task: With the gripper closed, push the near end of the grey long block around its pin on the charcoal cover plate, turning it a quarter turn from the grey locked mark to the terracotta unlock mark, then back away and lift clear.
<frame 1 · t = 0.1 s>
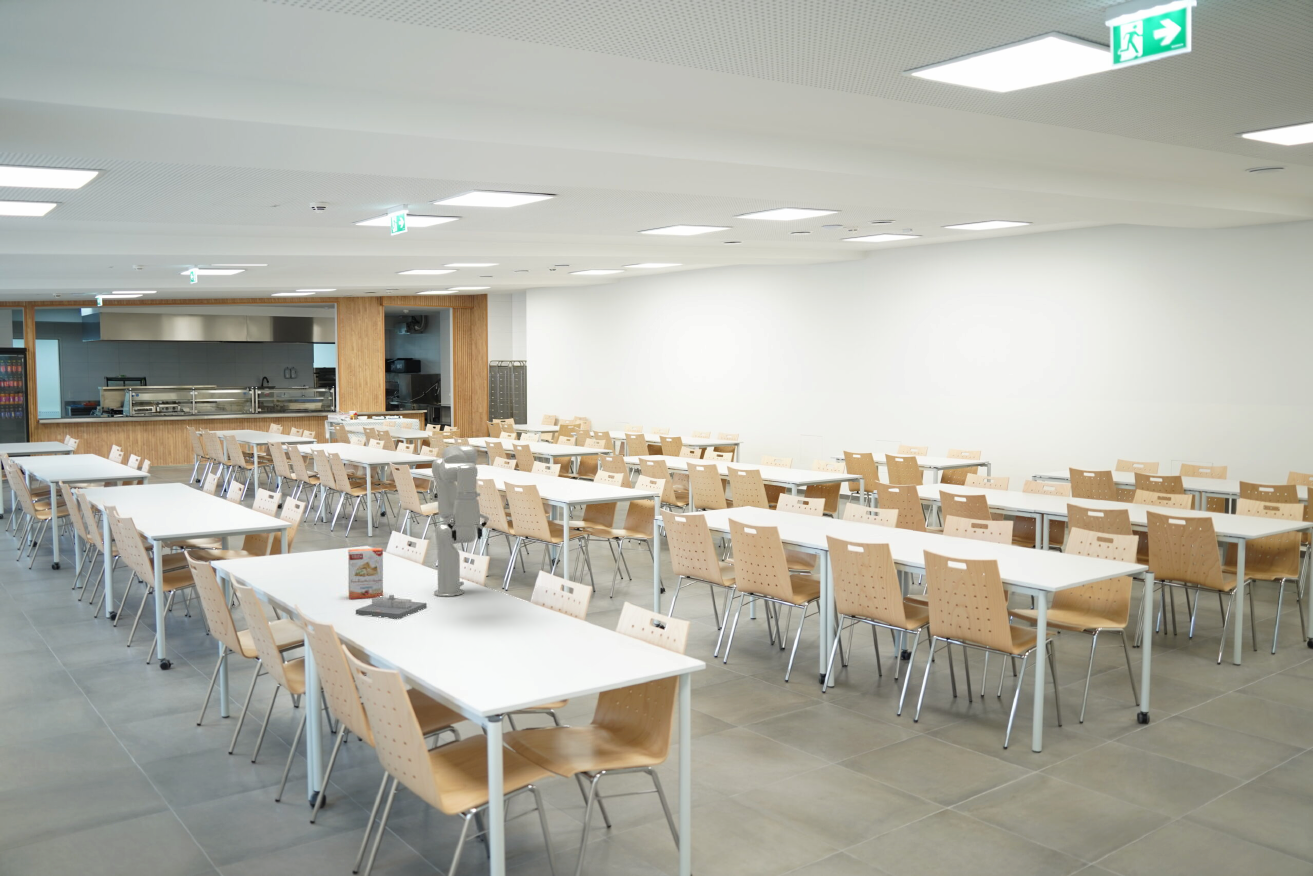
hand: (467, 539, 388), 31 cm above the table, tool pointing down, fingers open, 9 cm apart
cracker box: (366, 597, 424), on the table
cover plate: (391, 611, 399), on the table
grey long block: (374, 604, 402), point 2 cm above the table, touching cover plate
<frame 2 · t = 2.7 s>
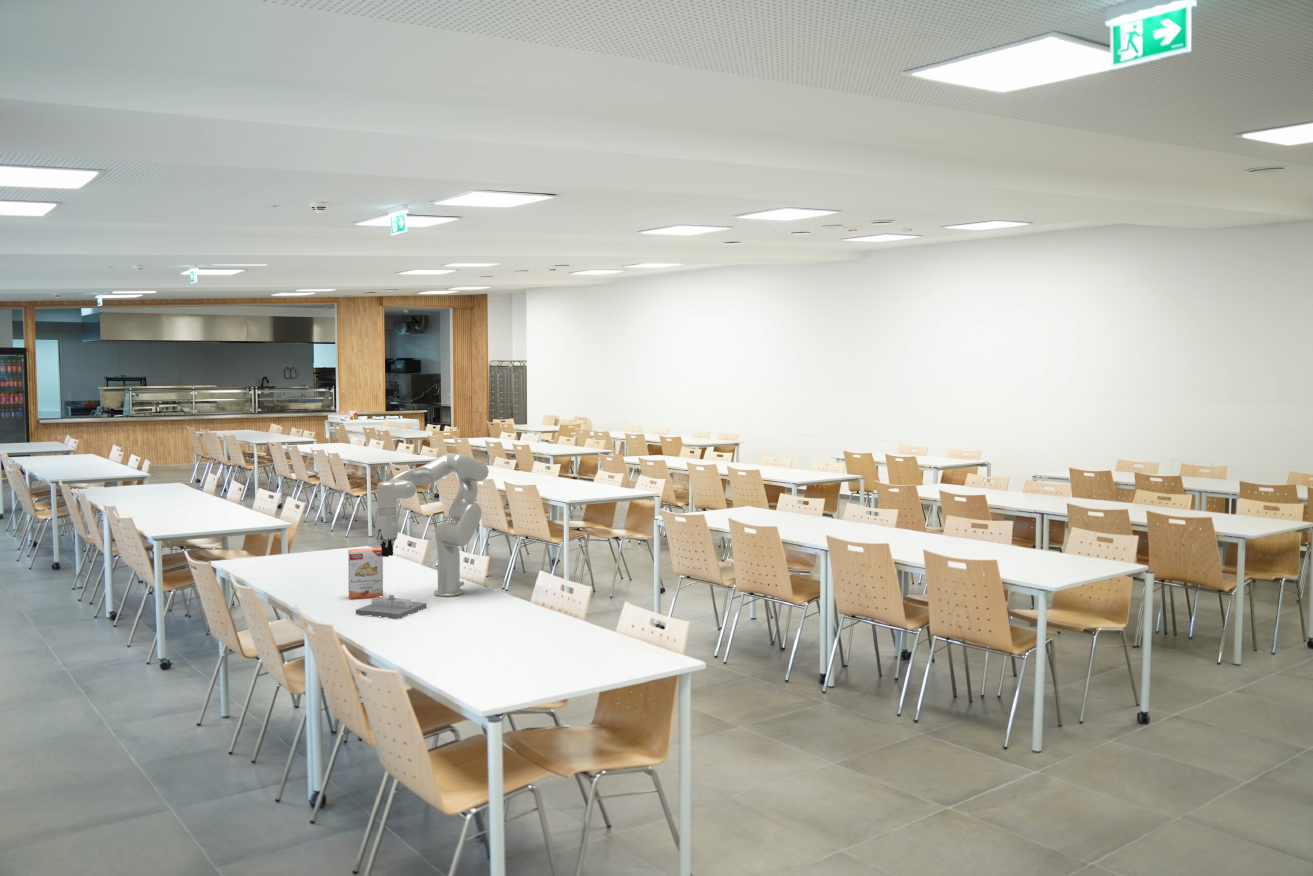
hand: (387, 555, 407), 21 cm above the table, tool pointing down, fingers closed
nothing on the table moved.
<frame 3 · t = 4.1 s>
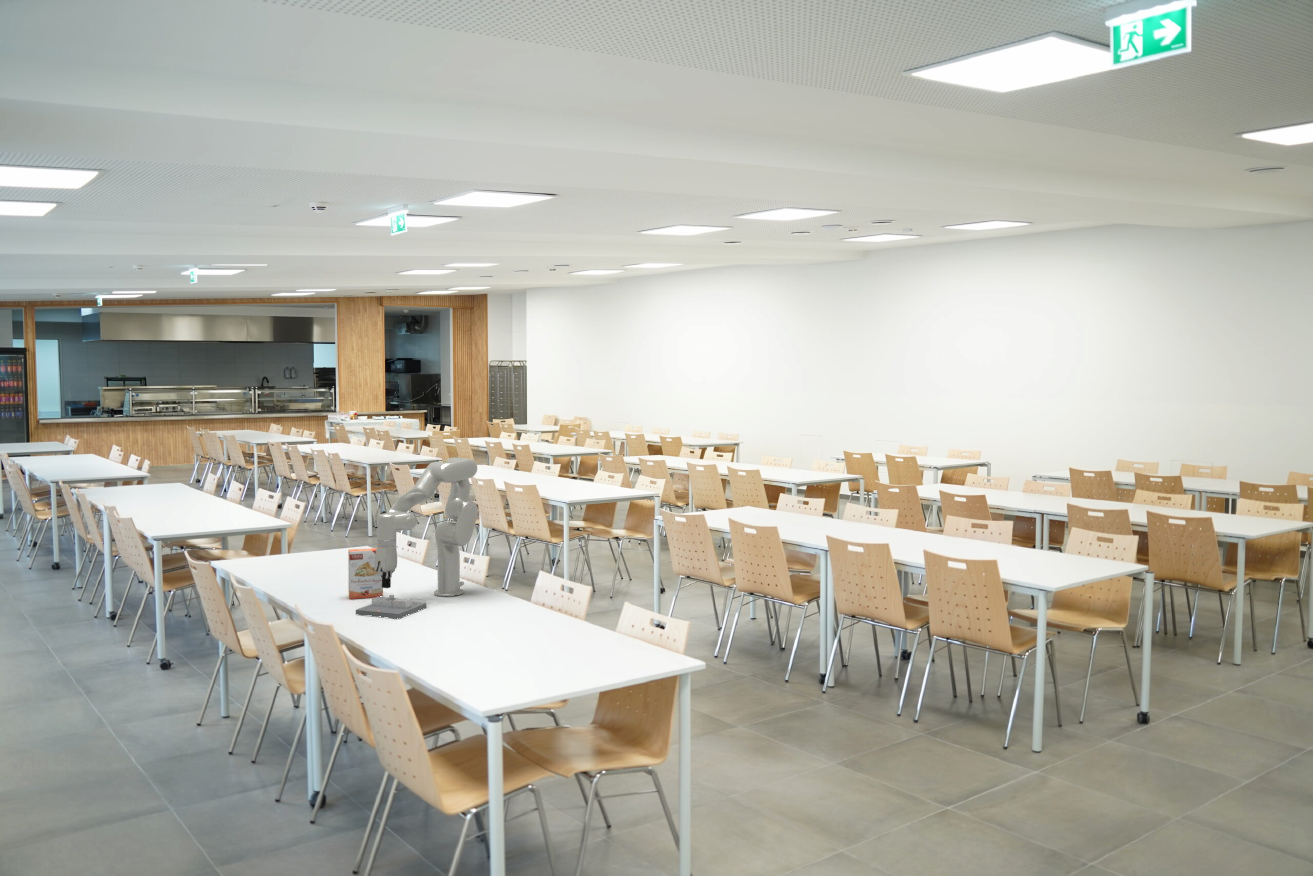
hand: (386, 587, 407), 8 cm above the table, tool pointing down, fingers closed
nothing on the table moved.
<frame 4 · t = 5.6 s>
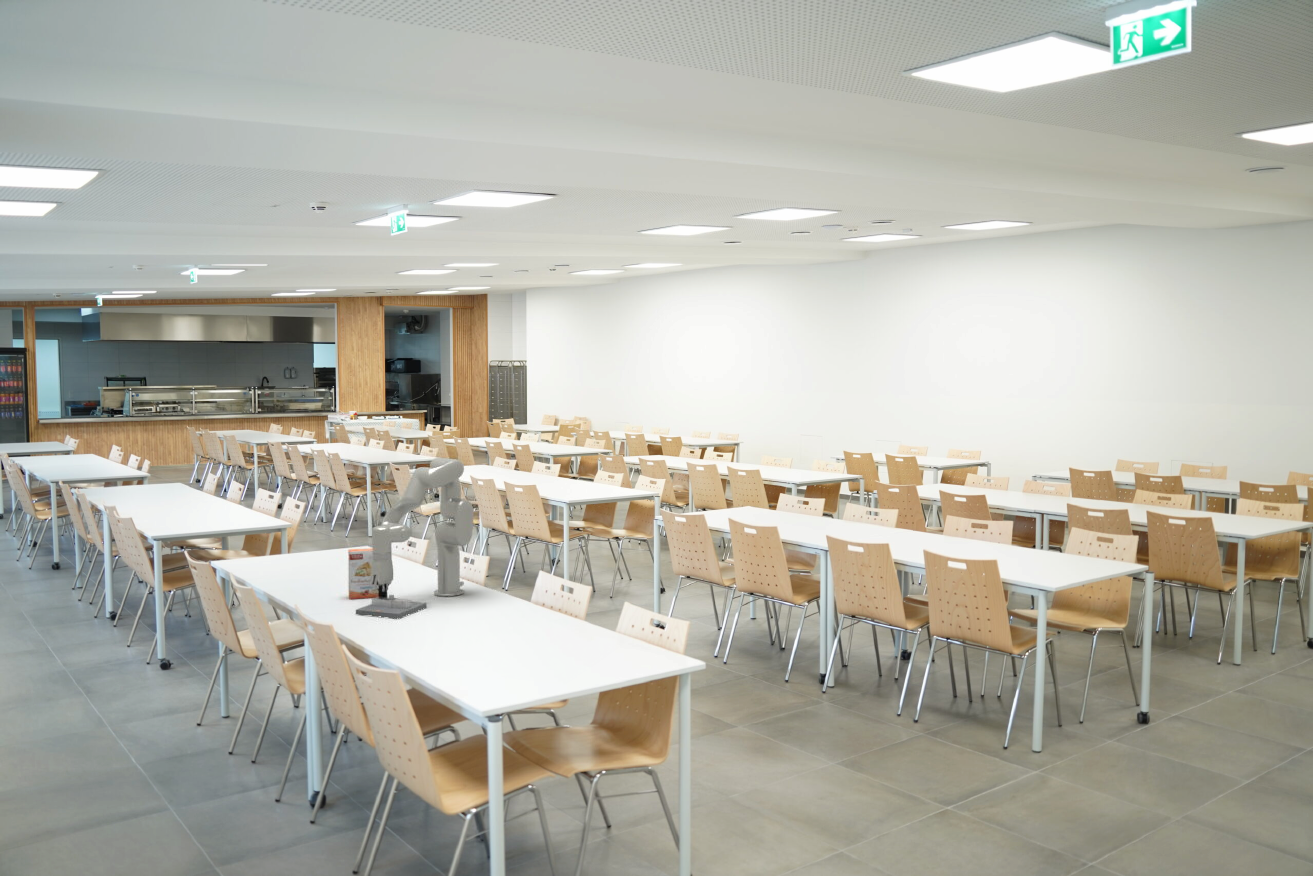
hand: (383, 600, 404), 3 cm above the table, tool pointing down, fingers closed
grey long block: (374, 604, 402), point 2 cm above the table, touching cover plate, gripper
everything else where it was.
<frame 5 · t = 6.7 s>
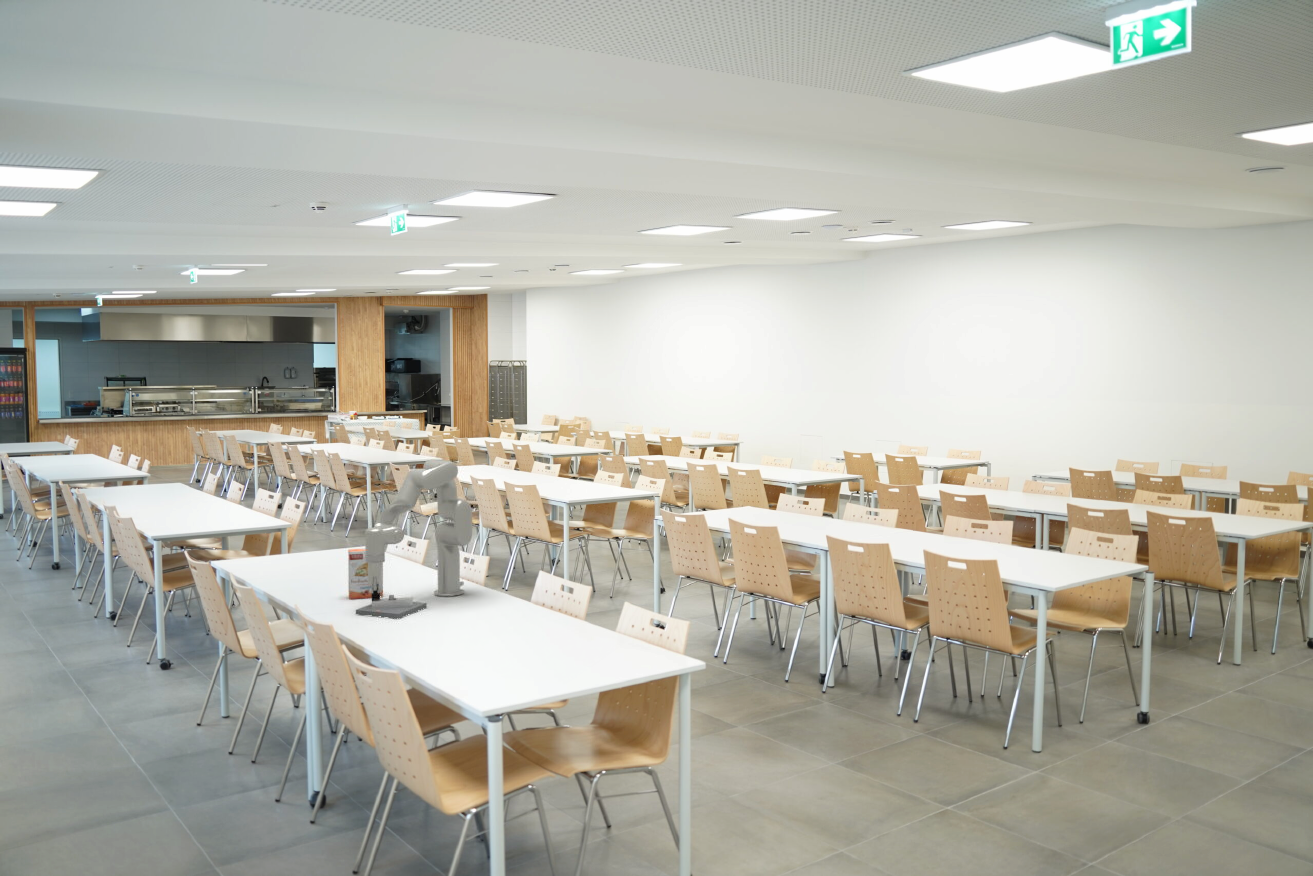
hand: (375, 602, 401), 3 cm above the table, tool pointing down, fingers closed
grey long block: (371, 607, 397), point 2 cm above the table, touching cover plate, gripper
everything else where it was.
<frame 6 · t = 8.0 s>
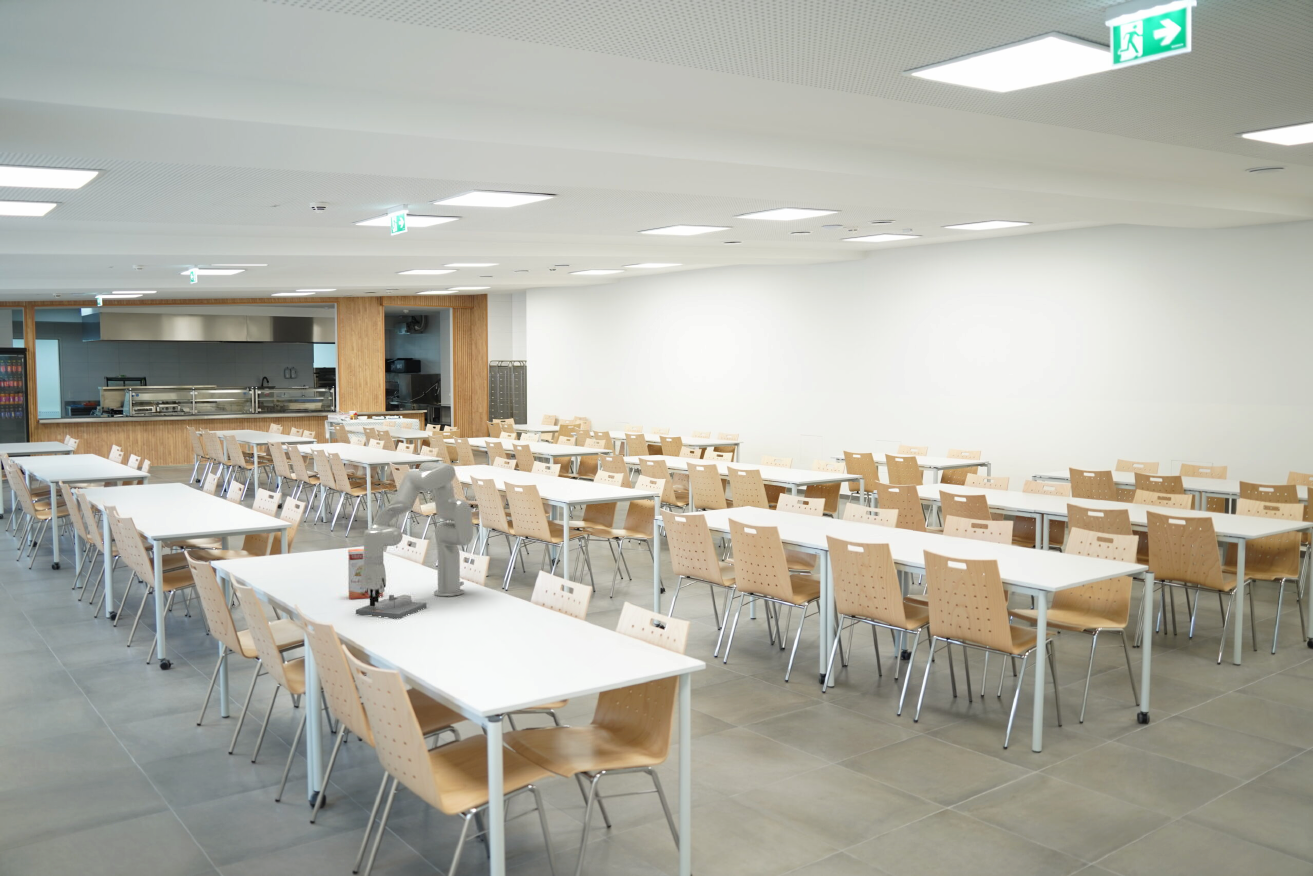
hand: (374, 605, 395), 3 cm above the table, tool pointing down, fingers closed
grey long block: (378, 610, 392), point 2 cm above the table, touching cover plate, gripper
everything else where it was.
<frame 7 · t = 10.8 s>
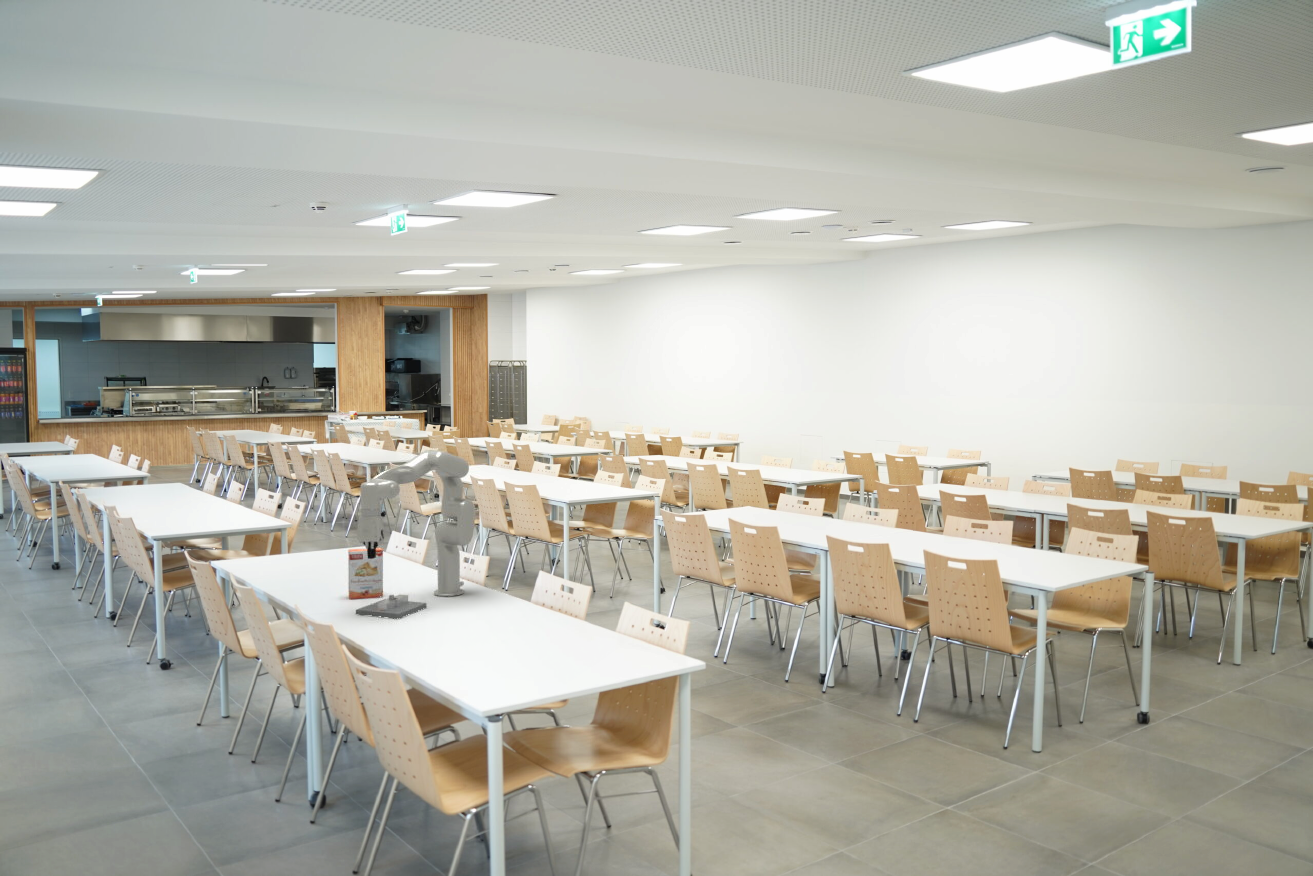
hand: (371, 558, 395), 22 cm above the table, tool pointing down, fingers closed
grey long block: (382, 610, 392), point 2 cm above the table, touching cover plate
everything else where it was.
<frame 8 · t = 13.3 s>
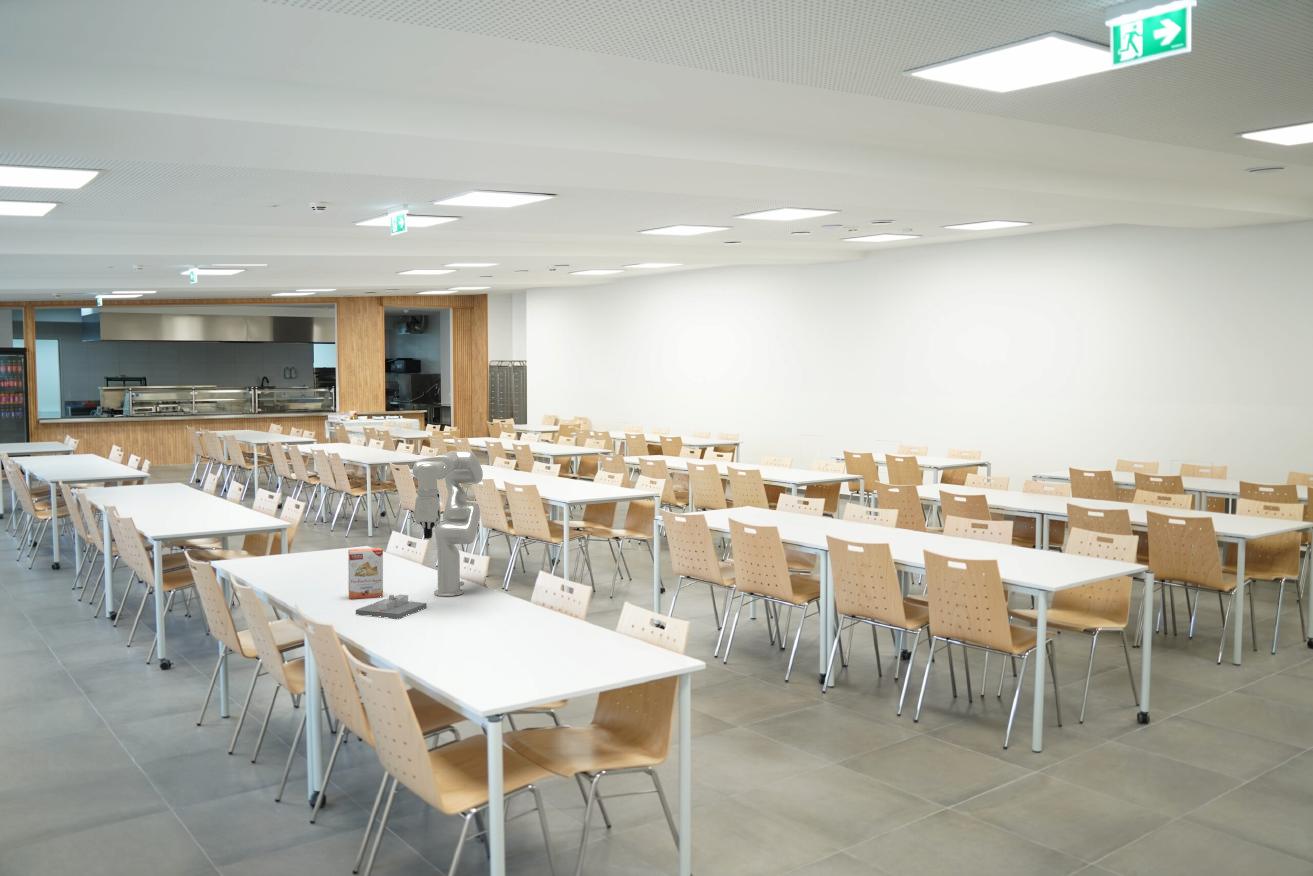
hand: (428, 538, 403), 29 cm above the table, tool pointing down, fingers closed
nothing on the table moved.
at the end: grey long block 0.8 cm from the target spot, point 2.0 cm above the table; grey long block tilted 0°; cracker box moved 0.2 cm from its start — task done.
